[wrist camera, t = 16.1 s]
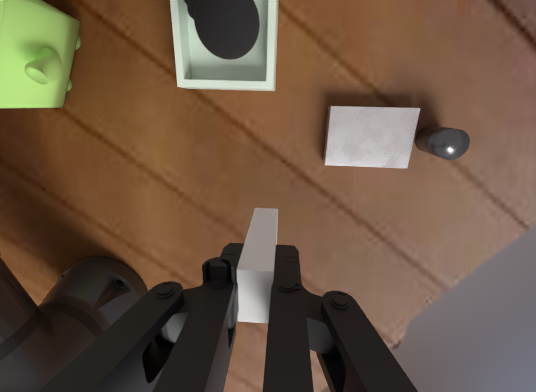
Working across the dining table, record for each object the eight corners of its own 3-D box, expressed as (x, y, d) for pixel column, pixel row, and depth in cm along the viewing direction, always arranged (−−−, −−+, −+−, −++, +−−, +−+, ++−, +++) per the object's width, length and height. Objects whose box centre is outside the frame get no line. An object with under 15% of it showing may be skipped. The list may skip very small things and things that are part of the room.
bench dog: (412, 151, 32) (433, 158, 27) (418, 124, 31) (441, 128, 26) (438, 152, 32) (464, 160, 27) (445, 126, 30) (473, 129, 26)
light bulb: (158, -79, 20) (260, 9, 21) (199, -56, 25) (278, 13, 26) (138, 7, 23) (226, 77, 24) (177, 11, 28) (248, 69, 30)
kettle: (62, -44, 28) (-74, -132, 18) (124, 86, 32) (45, 77, 22) (-33, 11, 31) (-200, -37, 20) (35, 123, 35) (-73, 132, 25)
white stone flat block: (322, 160, 34) (324, 165, 31) (328, 105, 31) (330, 106, 29) (398, 163, 33) (407, 168, 31) (410, 107, 31) (420, 108, 28)
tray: (188, 88, 32) (177, 86, 29) (180, -19, 28) (167, -34, 25) (275, 91, 31) (273, 89, 28) (279, -19, 27) (277, -35, 24)
